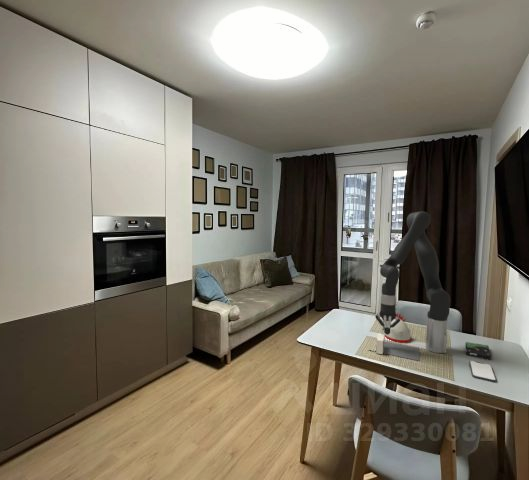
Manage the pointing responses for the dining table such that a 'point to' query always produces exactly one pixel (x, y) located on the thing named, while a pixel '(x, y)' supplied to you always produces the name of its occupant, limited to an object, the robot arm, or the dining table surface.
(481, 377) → the phone case
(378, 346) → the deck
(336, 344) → the dining table surface
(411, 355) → the mat
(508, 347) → the dining table surface
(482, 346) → the disk drive
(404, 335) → the kitchen timer
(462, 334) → the dining table surface
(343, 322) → the dining table surface
